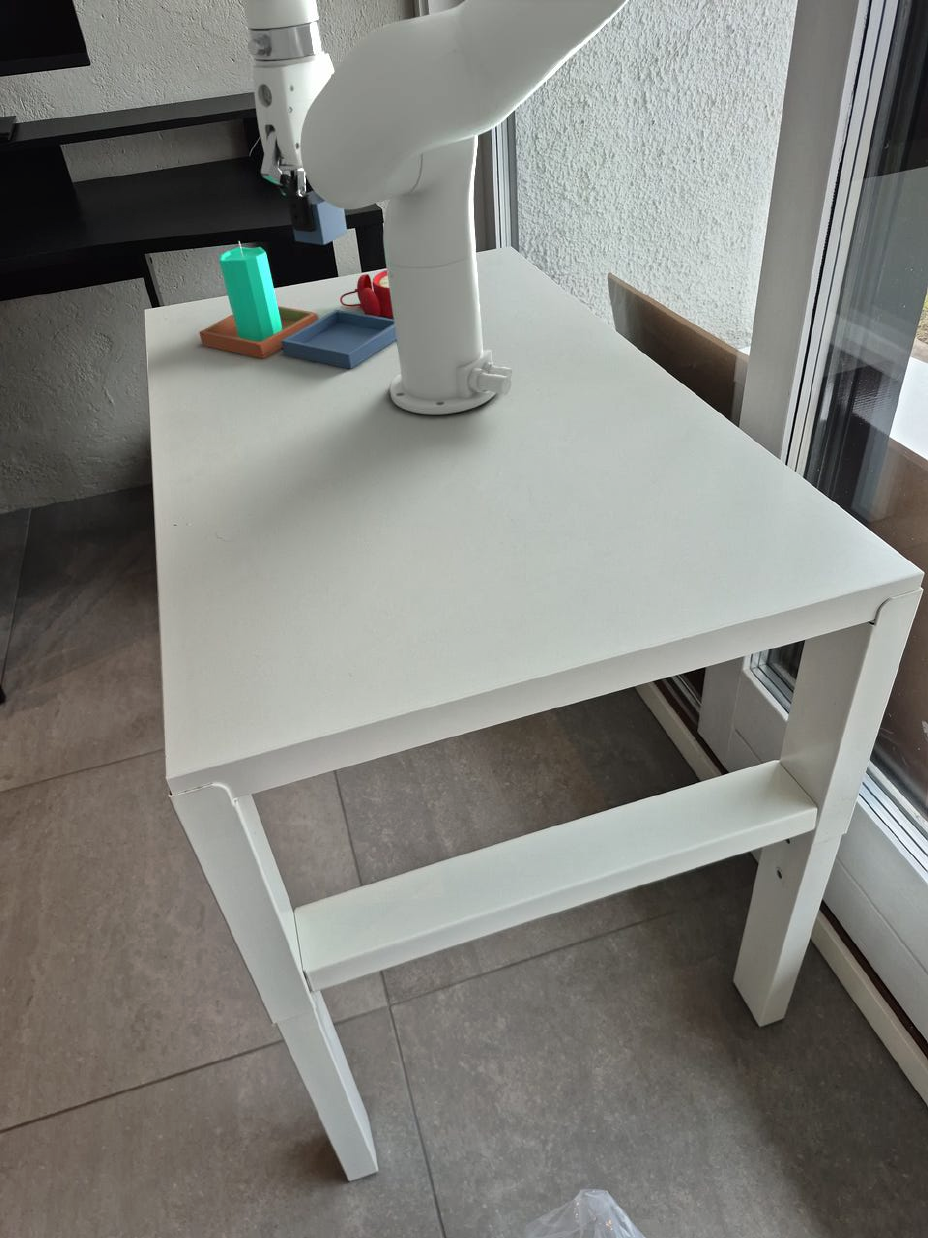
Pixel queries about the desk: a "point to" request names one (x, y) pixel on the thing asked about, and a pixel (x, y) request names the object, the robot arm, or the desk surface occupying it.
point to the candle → (251, 293)
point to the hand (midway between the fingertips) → (318, 221)
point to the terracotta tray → (227, 339)
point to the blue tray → (341, 338)
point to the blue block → (323, 222)
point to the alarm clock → (373, 295)
